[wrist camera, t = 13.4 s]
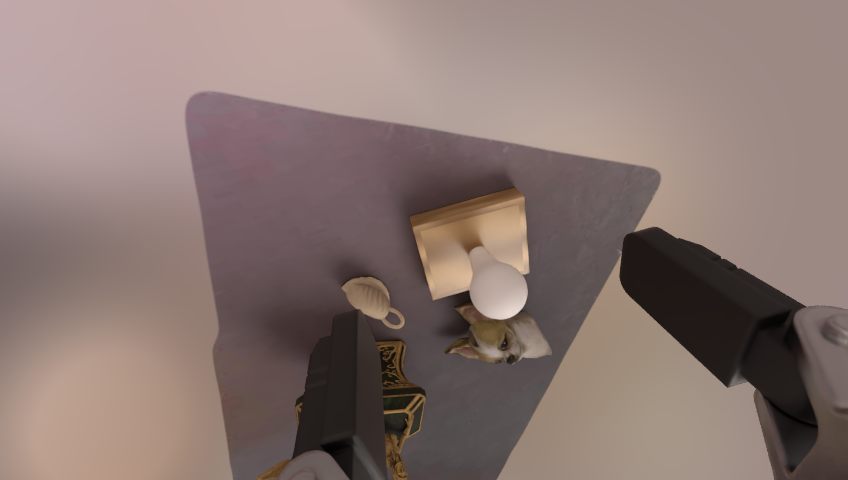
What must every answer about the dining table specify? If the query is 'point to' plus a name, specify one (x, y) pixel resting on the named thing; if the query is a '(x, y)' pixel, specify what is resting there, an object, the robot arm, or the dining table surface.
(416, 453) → the dining table surface
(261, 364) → the dining table surface
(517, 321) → the ceramic sculpture
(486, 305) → the lightbulb
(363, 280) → the decorative ornament
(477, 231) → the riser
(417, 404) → the decorative box
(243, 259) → the dining table surface
